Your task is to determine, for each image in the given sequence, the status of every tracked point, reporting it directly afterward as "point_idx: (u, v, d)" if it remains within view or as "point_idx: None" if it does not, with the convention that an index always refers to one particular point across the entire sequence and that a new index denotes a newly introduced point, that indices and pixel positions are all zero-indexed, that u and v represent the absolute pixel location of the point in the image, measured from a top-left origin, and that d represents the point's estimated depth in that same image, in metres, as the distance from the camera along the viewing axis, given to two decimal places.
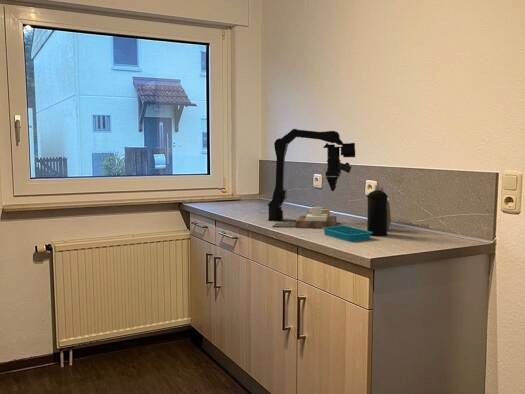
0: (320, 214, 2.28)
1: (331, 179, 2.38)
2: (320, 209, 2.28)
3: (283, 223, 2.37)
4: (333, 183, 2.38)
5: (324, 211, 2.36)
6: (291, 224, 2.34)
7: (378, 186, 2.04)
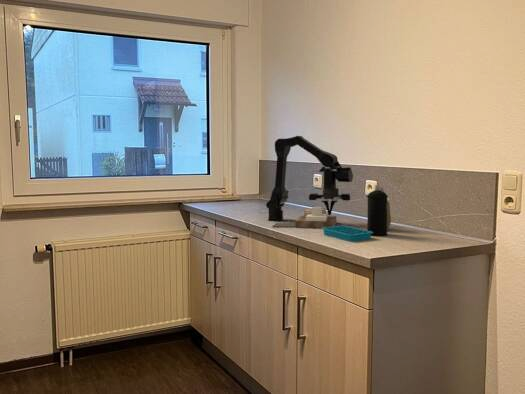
0: (320, 214, 2.28)
1: None
2: (320, 209, 2.28)
3: (283, 223, 2.37)
4: None
5: None
6: (291, 224, 2.34)
7: (378, 186, 2.04)
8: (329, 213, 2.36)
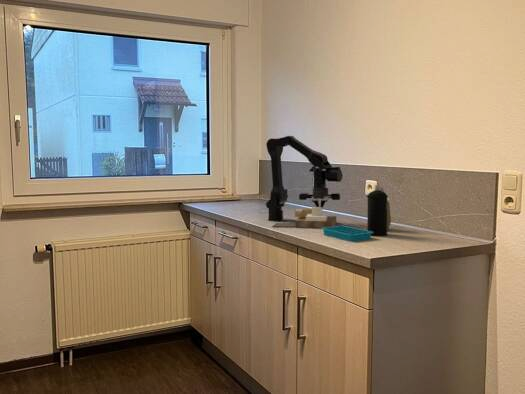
0: (320, 214, 2.28)
1: None
2: (320, 209, 2.28)
3: (283, 223, 2.37)
4: None
5: (311, 211, 2.38)
6: (291, 224, 2.34)
7: (378, 186, 2.04)
8: None
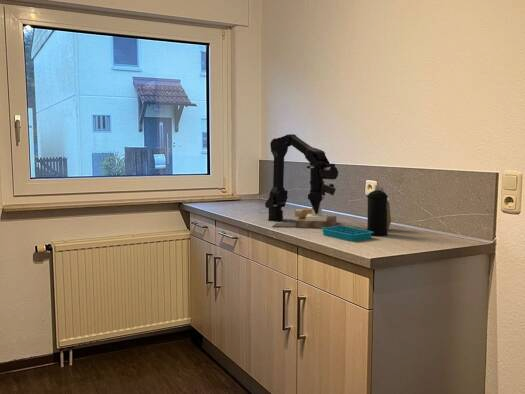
0: (320, 214, 2.28)
1: (315, 201, 2.27)
2: (320, 209, 2.28)
3: (283, 223, 2.37)
4: (317, 205, 2.27)
5: (311, 211, 2.38)
6: (291, 224, 2.34)
7: (378, 186, 2.04)
8: None
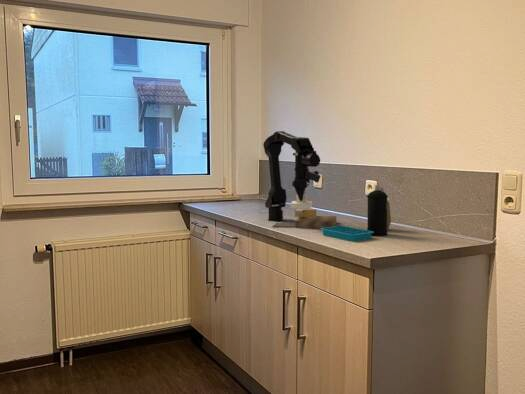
0: (305, 201, 2.29)
1: (299, 188, 2.27)
2: (305, 196, 2.29)
3: (283, 223, 2.37)
4: (301, 192, 2.28)
5: (311, 211, 2.38)
6: (291, 224, 2.34)
7: (378, 186, 2.04)
8: None
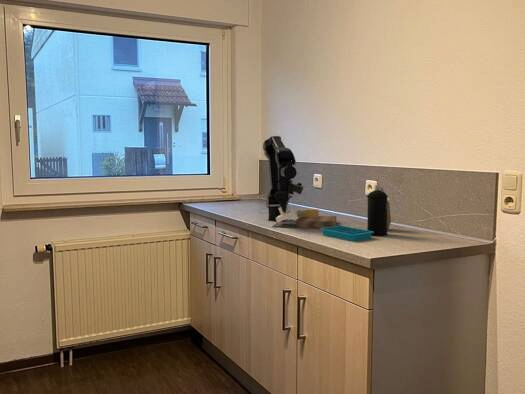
0: (288, 211, 2.31)
1: (282, 200, 2.29)
2: None
3: (283, 223, 2.37)
4: (284, 204, 2.29)
5: (313, 211, 2.37)
6: (291, 224, 2.34)
7: (378, 186, 2.04)
8: None
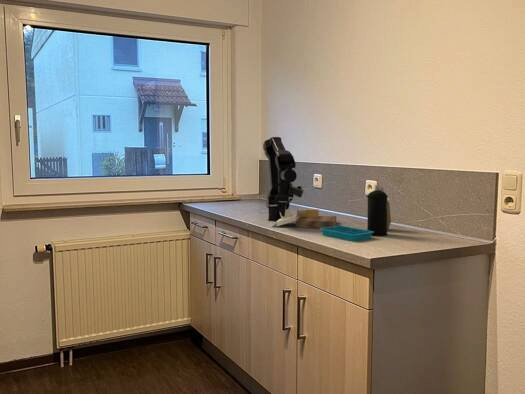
0: (289, 216, 2.31)
1: (281, 204, 2.26)
2: (288, 211, 2.31)
3: None
4: (283, 208, 2.26)
5: (313, 211, 2.37)
6: (291, 224, 2.34)
7: (378, 186, 2.04)
8: None
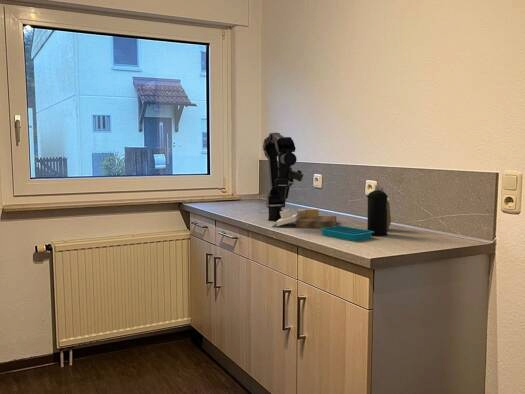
0: (289, 216, 2.31)
1: (281, 188, 2.26)
2: (288, 211, 2.31)
3: None
4: (283, 192, 2.26)
5: (313, 211, 2.37)
6: (291, 224, 2.34)
7: (378, 186, 2.04)
8: (287, 196, 2.36)
